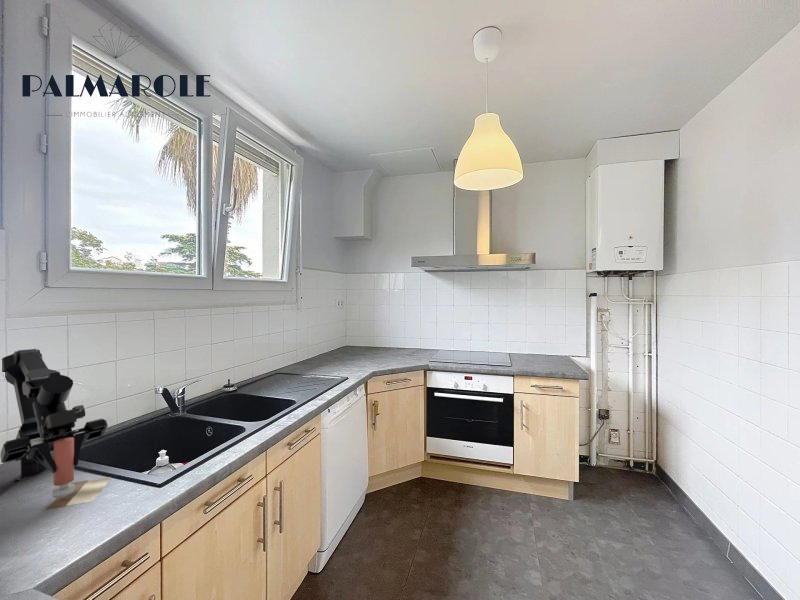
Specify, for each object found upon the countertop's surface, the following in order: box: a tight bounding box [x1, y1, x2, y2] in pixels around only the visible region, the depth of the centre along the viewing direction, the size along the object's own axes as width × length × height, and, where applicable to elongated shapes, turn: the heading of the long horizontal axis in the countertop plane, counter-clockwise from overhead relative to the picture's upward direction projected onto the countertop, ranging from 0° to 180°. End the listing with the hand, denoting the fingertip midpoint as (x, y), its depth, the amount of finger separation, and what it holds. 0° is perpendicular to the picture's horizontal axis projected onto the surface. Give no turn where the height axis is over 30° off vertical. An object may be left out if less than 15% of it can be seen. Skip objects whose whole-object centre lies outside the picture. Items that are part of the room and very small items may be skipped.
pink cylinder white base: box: [51, 437, 75, 498], centre depth 85 cm, size 4×4×13 cm
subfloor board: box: [44, 476, 112, 511], centre depth 88 cm, size 12×9×1 cm
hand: (65, 468), depth 84 cm, fingers closed on pink cylinder white base, 4 cm apart
